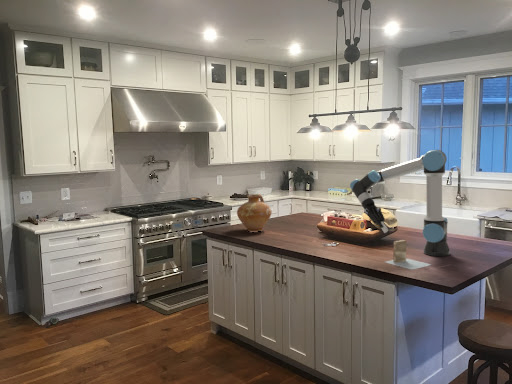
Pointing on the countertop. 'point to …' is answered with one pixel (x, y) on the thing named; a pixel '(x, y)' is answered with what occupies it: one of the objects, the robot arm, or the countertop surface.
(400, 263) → the mat
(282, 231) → the countertop surface
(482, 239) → the countertop surface
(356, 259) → the countertop surface
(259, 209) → the jug
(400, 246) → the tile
